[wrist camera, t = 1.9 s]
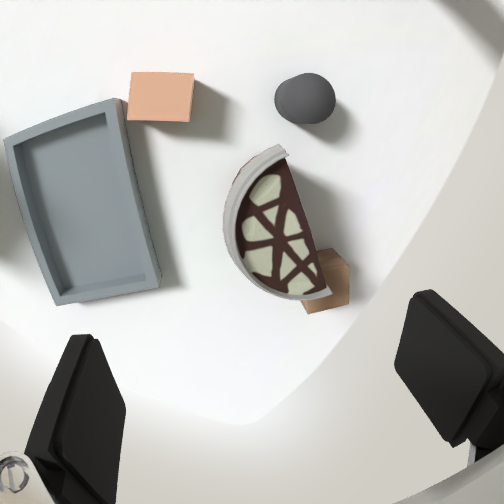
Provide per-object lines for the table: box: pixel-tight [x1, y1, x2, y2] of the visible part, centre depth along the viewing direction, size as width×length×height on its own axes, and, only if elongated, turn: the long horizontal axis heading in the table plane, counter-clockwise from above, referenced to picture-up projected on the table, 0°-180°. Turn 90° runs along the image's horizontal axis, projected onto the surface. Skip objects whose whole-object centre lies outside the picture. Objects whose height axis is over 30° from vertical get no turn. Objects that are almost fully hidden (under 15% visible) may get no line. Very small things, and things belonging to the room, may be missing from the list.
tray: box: [3, 98, 162, 306], centre depth 27 cm, size 12×18×2 cm, turn 8°
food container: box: [223, 144, 333, 301], centre depth 27 cm, size 12×6×10 cm, turn 21°
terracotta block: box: [127, 72, 195, 122], centre depth 24 cm, size 5×4×4 cm
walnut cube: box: [300, 248, 349, 314], centre depth 33 cm, size 4×4×4 cm
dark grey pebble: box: [274, 73, 336, 124], centre depth 26 cm, size 4×4×4 cm
